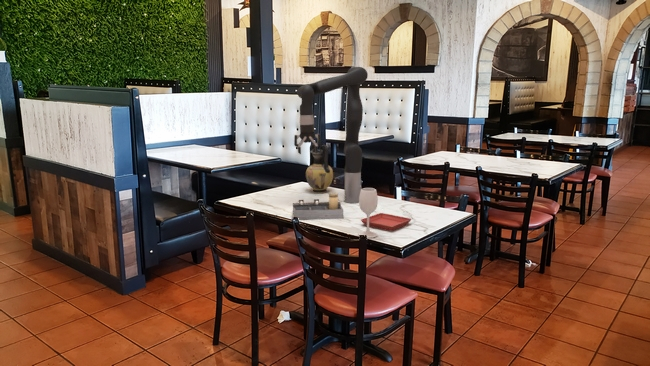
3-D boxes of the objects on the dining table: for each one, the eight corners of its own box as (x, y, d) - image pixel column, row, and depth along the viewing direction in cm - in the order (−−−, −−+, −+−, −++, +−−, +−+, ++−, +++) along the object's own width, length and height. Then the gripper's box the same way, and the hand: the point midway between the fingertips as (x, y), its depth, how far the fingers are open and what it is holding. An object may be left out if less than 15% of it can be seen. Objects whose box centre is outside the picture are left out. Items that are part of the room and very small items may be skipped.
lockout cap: (337, 212, 258) (337, 193, 256) (338, 214, 254) (338, 195, 252) (328, 212, 258) (328, 193, 256) (329, 214, 253) (329, 195, 251)
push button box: (339, 211, 265) (339, 198, 263) (343, 218, 252) (343, 204, 251) (292, 213, 262) (292, 199, 260) (294, 220, 249) (293, 205, 248)
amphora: (300, 192, 311) (299, 144, 305) (316, 187, 325) (316, 141, 318) (322, 196, 301) (322, 146, 295) (338, 191, 314) (339, 143, 308)
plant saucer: (380, 218, 253) (380, 212, 252) (412, 224, 242) (412, 218, 241) (359, 226, 239) (359, 219, 239) (391, 233, 228) (392, 226, 227)
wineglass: (354, 235, 225) (354, 189, 220) (366, 231, 231) (367, 186, 226) (368, 239, 219) (369, 192, 214) (381, 235, 224) (382, 189, 220)
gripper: (294, 124, 263) (295, 155, 266) (320, 123, 264) (322, 153, 268) (293, 123, 270) (294, 153, 273) (319, 122, 272) (320, 152, 275)
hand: (308, 153), depth 270 cm, fingers open, 8 cm apart
